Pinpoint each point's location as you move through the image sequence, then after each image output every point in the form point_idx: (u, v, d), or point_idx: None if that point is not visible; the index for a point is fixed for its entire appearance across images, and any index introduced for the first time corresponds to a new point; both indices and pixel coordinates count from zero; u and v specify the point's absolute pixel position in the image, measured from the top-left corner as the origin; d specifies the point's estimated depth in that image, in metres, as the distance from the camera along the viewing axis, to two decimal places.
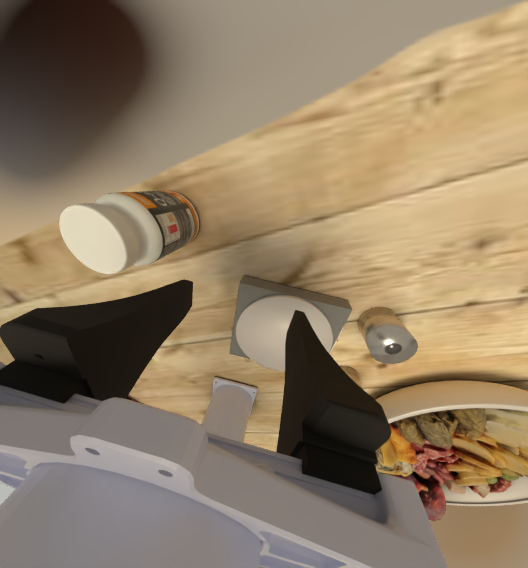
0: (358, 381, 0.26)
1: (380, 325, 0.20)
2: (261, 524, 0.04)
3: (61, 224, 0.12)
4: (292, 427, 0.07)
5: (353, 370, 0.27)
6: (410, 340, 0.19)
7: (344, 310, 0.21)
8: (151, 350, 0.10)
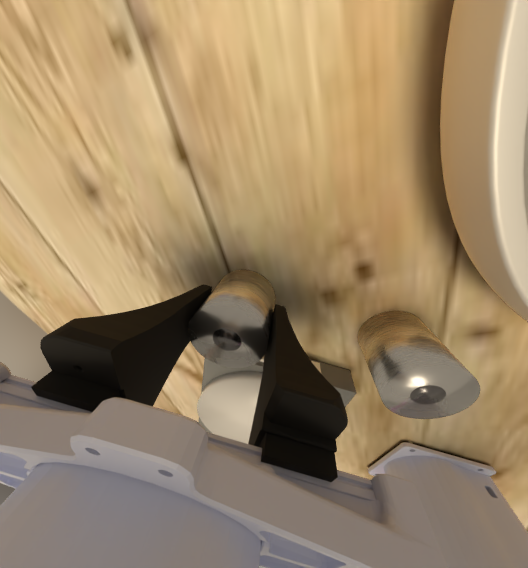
0: (382, 336, 0.12)
1: None
2: (261, 524, 0.04)
3: None
4: (259, 417, 0.07)
5: (369, 323, 0.13)
6: (199, 319, 0.10)
7: None
8: (175, 357, 0.10)
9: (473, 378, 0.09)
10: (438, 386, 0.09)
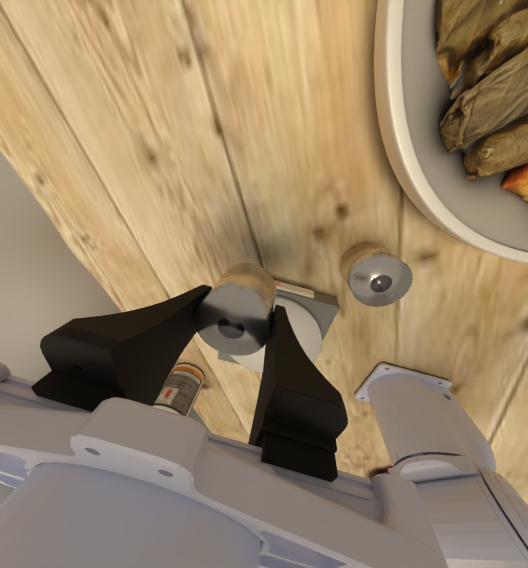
0: (354, 255, 0.17)
1: None
2: (261, 524, 0.04)
3: None
4: (259, 417, 0.07)
5: (347, 252, 0.18)
6: (205, 309, 0.10)
7: None
8: (174, 357, 0.10)
9: (406, 266, 0.14)
10: (386, 275, 0.15)
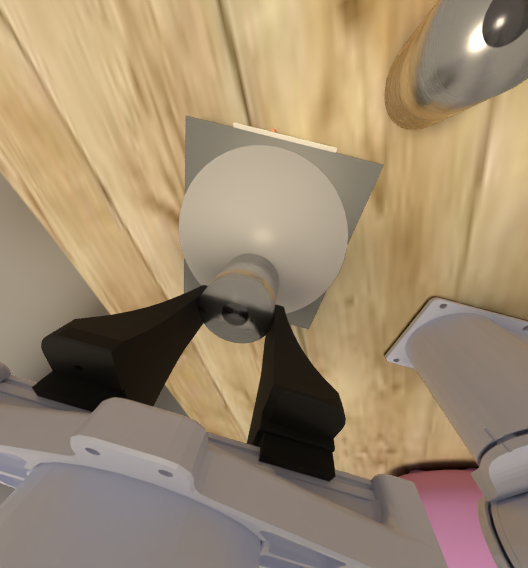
0: (429, 13, 0.08)
1: None
2: (261, 524, 0.04)
3: None
4: (257, 417, 0.07)
5: (403, 46, 0.10)
6: (208, 296, 0.10)
7: (191, 132, 0.11)
8: (175, 357, 0.10)
9: None
10: None
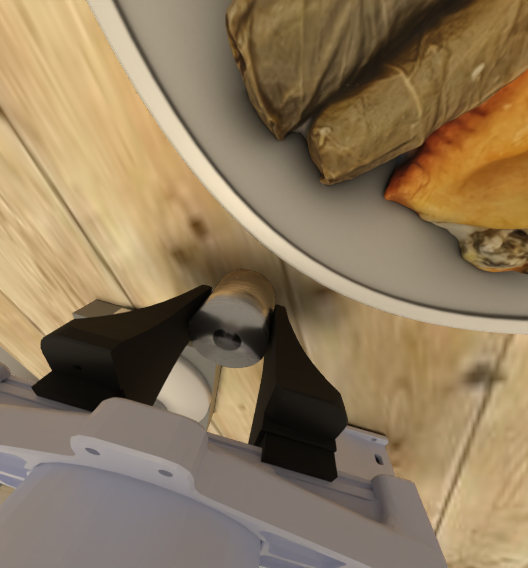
0: (213, 290, 0.12)
1: None
2: (261, 524, 0.04)
3: None
4: (259, 417, 0.07)
5: None
6: None
7: None
8: (175, 357, 0.10)
9: (251, 318, 0.09)
10: (229, 329, 0.10)
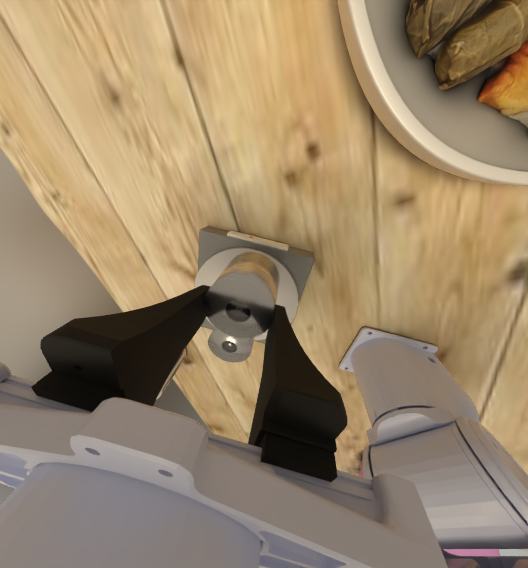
0: (225, 268, 0.13)
1: None
2: (261, 524, 0.04)
3: None
4: (259, 417, 0.07)
5: None
6: (214, 337, 0.18)
7: (202, 237, 0.19)
8: (175, 357, 0.10)
9: (262, 293, 0.10)
10: (241, 302, 0.11)
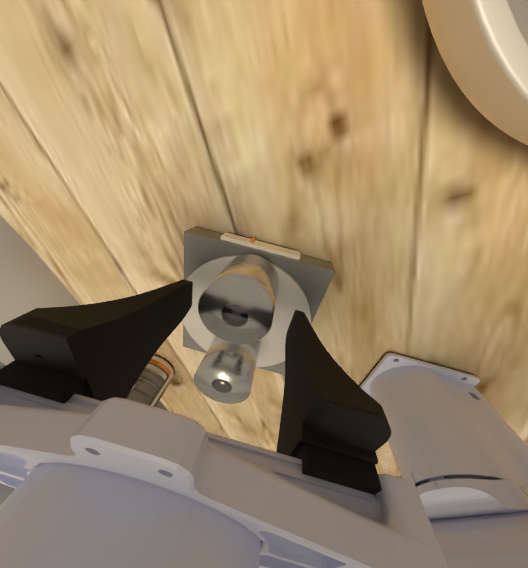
0: (222, 270, 0.12)
1: None
2: (261, 524, 0.04)
3: None
4: (292, 427, 0.07)
5: (226, 265, 0.14)
6: (201, 374, 0.14)
7: (188, 241, 0.15)
8: (151, 350, 0.10)
9: (260, 295, 0.10)
10: (238, 305, 0.10)
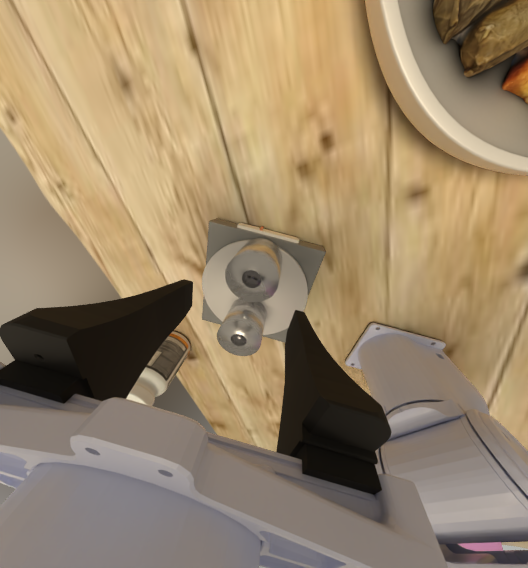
0: (240, 249, 0.17)
1: None
2: (261, 524, 0.04)
3: None
4: (292, 427, 0.07)
5: None
6: (223, 330, 0.18)
7: (212, 229, 0.19)
8: (151, 350, 0.10)
9: (270, 262, 0.14)
10: (254, 270, 0.14)
